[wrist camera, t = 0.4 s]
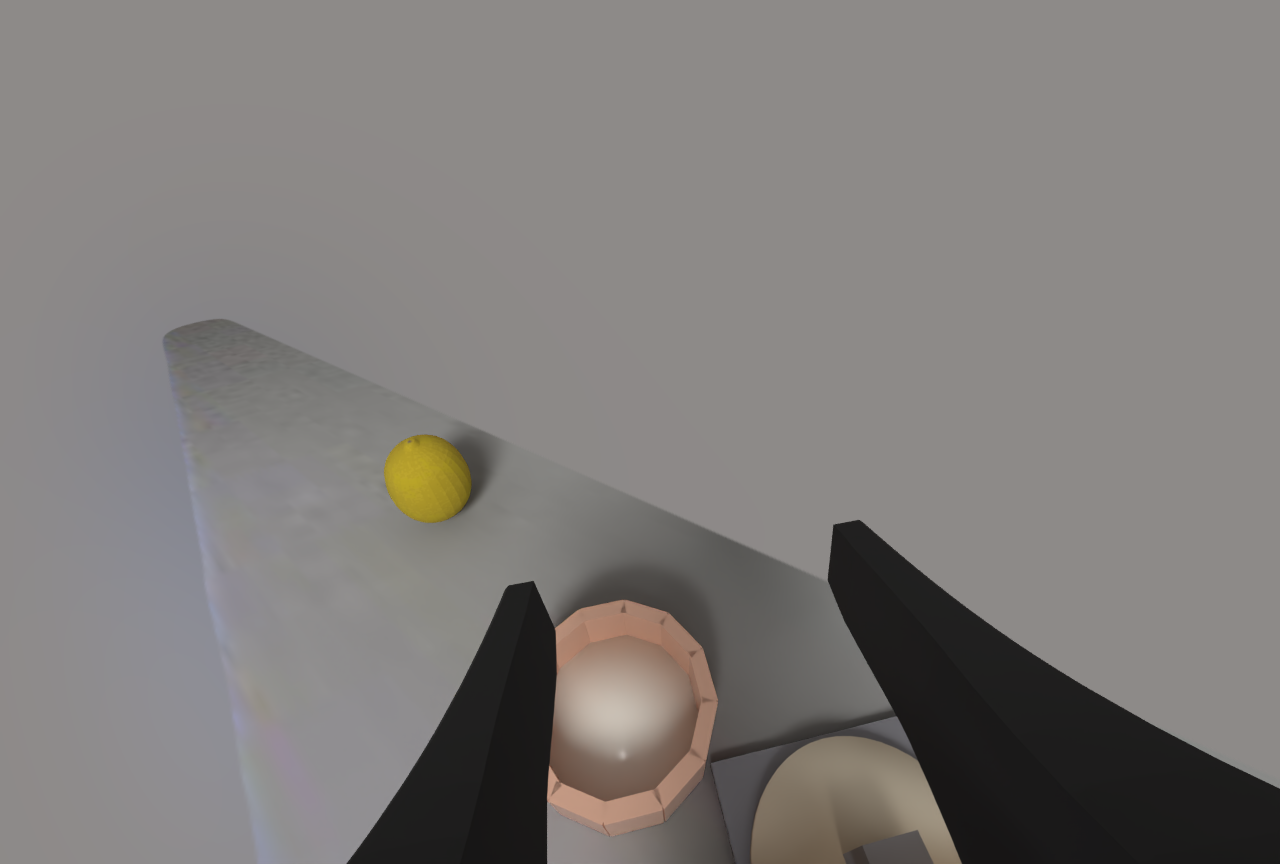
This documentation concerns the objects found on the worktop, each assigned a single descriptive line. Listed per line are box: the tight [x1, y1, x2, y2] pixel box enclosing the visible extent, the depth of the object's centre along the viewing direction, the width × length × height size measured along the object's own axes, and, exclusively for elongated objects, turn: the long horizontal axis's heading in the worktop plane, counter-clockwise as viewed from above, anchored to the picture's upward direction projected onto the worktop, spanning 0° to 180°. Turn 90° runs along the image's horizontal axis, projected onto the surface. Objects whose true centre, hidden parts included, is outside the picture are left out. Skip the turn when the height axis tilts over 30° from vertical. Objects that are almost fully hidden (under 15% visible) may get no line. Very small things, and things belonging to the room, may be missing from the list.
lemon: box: [384, 435, 471, 523], centre depth 35 cm, size 6×6×8 cm
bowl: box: [547, 600, 718, 837], centre depth 26 cm, size 10×10×4 cm
